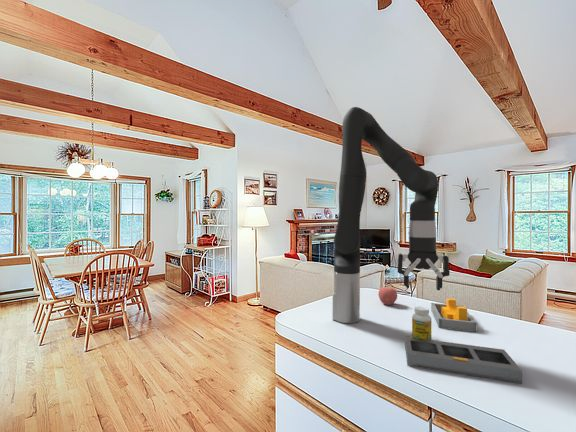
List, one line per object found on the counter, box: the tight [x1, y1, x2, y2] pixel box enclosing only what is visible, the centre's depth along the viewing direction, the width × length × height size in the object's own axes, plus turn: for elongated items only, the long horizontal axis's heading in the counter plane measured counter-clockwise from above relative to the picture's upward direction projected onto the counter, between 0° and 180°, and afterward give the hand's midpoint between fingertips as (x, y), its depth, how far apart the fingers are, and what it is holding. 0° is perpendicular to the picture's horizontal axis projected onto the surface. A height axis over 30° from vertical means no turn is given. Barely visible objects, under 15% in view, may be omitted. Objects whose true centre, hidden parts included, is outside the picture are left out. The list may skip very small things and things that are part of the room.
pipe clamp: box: [441, 297, 468, 321], centre depth 106 cm, size 12×4×6 cm, turn 169°
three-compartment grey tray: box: [404, 336, 523, 385], centre depth 75 cm, size 24×11×3 cm, turn 71°
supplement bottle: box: [411, 306, 432, 340], centre depth 89 cm, size 5×5×10 cm
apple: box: [378, 285, 398, 306], centre depth 125 cm, size 7×7×8 cm
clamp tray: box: [430, 302, 477, 333], centre depth 106 cm, size 11×19×3 cm, turn 161°
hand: (422, 288), depth 89 cm, fingers open, 8 cm apart
